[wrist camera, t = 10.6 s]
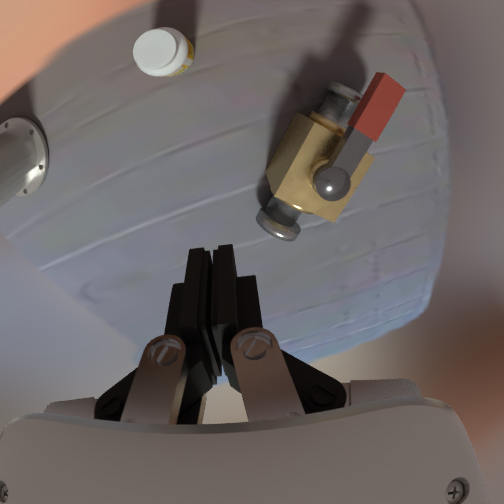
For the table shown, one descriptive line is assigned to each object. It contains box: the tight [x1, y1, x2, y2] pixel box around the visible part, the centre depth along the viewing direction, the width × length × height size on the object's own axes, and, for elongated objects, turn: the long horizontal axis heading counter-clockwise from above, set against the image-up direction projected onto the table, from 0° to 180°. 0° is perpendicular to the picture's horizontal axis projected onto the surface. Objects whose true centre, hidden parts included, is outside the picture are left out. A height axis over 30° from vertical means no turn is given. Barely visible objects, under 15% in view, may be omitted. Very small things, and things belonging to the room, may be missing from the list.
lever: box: [313, 72, 406, 201], centre depth 25 cm, size 14×4×2 cm, turn 154°
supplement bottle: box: [133, 27, 194, 76], centre depth 23 cm, size 5×5×10 cm
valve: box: [256, 80, 375, 241], centre depth 33 cm, size 20×8×9 cm, turn 155°
